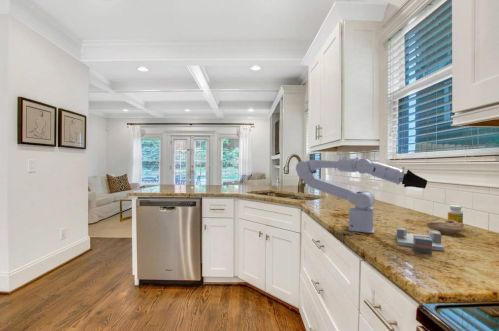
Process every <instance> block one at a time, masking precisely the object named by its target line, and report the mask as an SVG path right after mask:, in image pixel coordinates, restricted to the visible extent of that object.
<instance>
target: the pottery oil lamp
mask: <svg viewBox="0 0 499 331" xmlns="http://www.w3.org/2000/svg"><path fill="white" fill-rule="evenodd" d="M464 226H465V225H464V223H463V224H462V223H459V222H456V221H453V220H448V219H447V220H435V221H428V222H426V227H427V228H428V229H430V230H432V231H439V232H440V233H442V234H446V235H456V234H458V233H461V232H463V231H464V230H465V229H466V228H465V227H464Z"/></svg>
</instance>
